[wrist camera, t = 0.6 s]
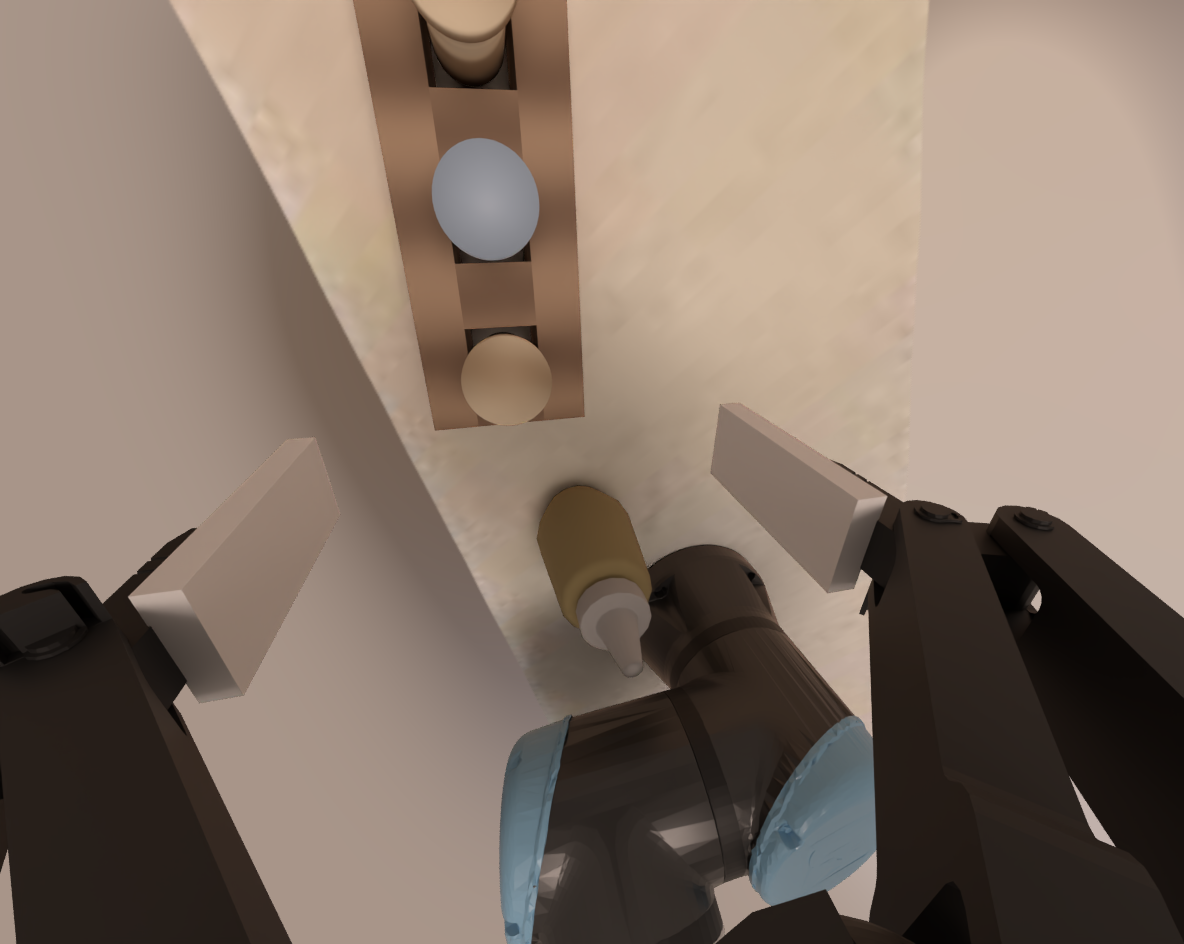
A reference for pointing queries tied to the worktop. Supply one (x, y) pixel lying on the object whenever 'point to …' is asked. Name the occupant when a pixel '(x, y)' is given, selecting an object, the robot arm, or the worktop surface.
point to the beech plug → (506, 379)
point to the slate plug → (485, 199)
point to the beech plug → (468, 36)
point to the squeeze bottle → (598, 572)
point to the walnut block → (431, 260)
